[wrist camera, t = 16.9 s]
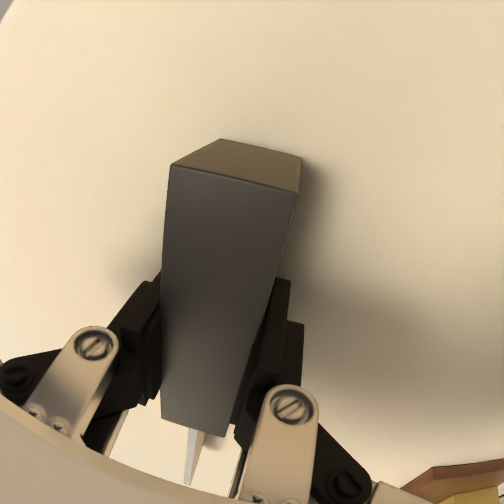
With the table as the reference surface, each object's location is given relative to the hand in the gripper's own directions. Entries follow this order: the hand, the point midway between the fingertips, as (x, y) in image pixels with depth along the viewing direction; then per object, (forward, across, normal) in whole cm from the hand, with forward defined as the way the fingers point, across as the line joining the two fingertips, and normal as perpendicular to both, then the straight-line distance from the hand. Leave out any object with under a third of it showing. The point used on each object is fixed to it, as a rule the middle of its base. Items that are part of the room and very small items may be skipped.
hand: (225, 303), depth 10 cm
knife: (+1, 0, +4) cm, 4 cm away
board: (0, -24, +19) cm, 31 cm away
